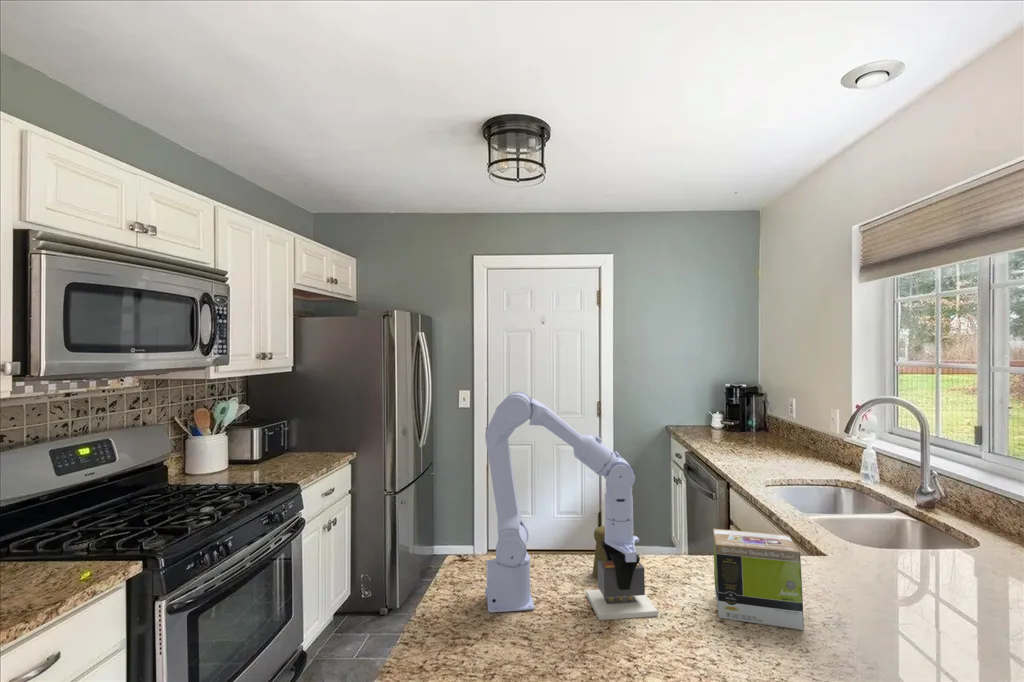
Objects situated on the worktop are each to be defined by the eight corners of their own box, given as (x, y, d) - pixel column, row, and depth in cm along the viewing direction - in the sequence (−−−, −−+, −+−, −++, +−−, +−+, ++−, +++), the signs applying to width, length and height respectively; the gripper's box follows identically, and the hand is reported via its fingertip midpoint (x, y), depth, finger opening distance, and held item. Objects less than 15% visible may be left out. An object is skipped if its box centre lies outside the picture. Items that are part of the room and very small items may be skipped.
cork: (618, 581, 112) (618, 533, 112) (592, 579, 113) (591, 531, 113) (618, 570, 118) (617, 524, 118) (593, 568, 119) (592, 522, 119)
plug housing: (604, 597, 99) (603, 569, 99) (597, 587, 103) (597, 560, 103) (644, 595, 100) (644, 566, 100) (636, 584, 104) (636, 557, 104)
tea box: (792, 606, 100) (791, 533, 101) (804, 632, 91) (802, 552, 91) (713, 595, 105) (712, 526, 106) (717, 619, 96) (715, 543, 96)
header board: (599, 620, 96) (598, 602, 96) (586, 595, 106) (586, 578, 106) (658, 616, 97) (657, 598, 97) (639, 591, 107) (639, 575, 107)
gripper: (650, 528, 95) (652, 599, 95) (626, 505, 109) (627, 566, 109) (615, 530, 94) (617, 601, 94) (595, 506, 109) (596, 568, 108)
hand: (620, 583), depth 101 cm, fingers closed on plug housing, 4 cm apart
